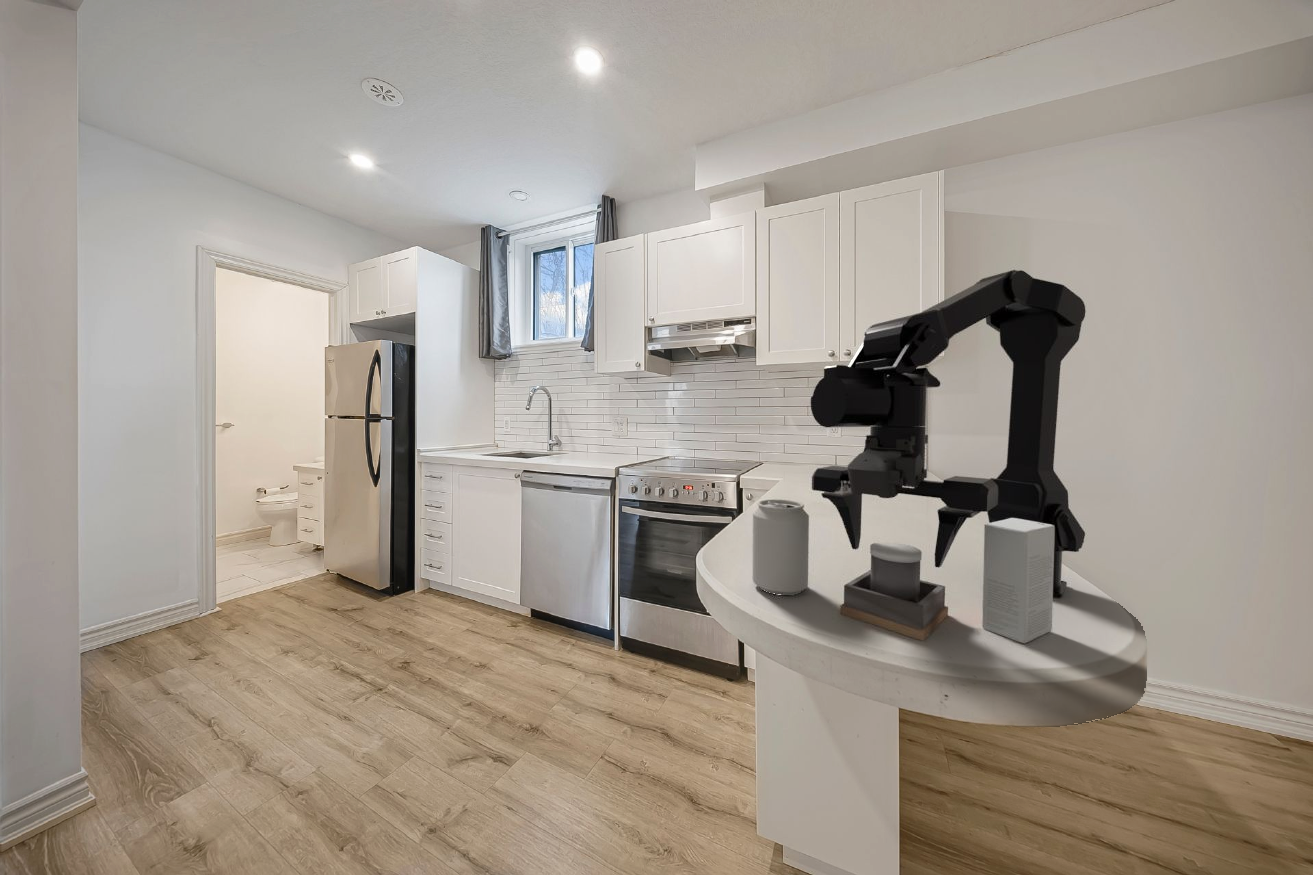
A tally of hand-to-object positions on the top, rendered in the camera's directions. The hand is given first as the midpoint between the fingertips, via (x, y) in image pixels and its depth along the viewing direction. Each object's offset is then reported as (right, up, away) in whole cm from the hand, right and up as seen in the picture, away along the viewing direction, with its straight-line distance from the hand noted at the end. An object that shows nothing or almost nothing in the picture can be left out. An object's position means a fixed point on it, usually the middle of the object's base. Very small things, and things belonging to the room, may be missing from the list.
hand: (894, 557), depth 53 cm
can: (-11, -7, +9) cm, 16 cm away
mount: (0, -7, 0) cm, 7 cm away
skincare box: (+12, -7, -4) cm, 14 cm away
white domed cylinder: (0, -6, 0) cm, 6 cm away
